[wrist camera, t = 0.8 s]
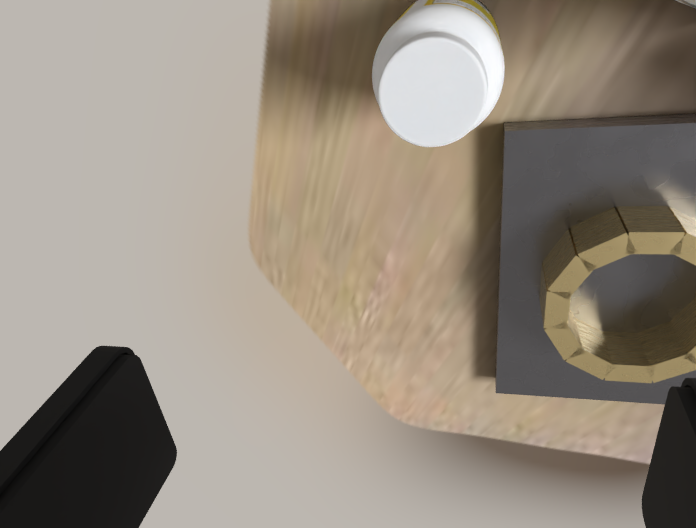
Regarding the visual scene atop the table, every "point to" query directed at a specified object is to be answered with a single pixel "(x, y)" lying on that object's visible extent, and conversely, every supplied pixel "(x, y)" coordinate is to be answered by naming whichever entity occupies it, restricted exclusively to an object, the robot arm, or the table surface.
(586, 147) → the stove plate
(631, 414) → the table surface
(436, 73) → the supplement bottle
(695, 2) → the ink box
